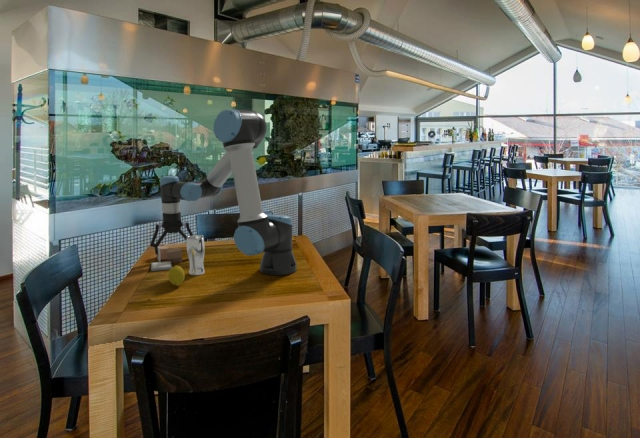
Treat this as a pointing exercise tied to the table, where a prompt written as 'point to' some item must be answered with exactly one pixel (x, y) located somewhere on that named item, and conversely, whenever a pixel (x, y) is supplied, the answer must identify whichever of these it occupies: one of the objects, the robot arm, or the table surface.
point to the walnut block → (174, 255)
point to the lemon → (176, 275)
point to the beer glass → (196, 254)
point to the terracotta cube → (163, 252)
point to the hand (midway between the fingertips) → (174, 259)
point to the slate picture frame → (161, 266)
